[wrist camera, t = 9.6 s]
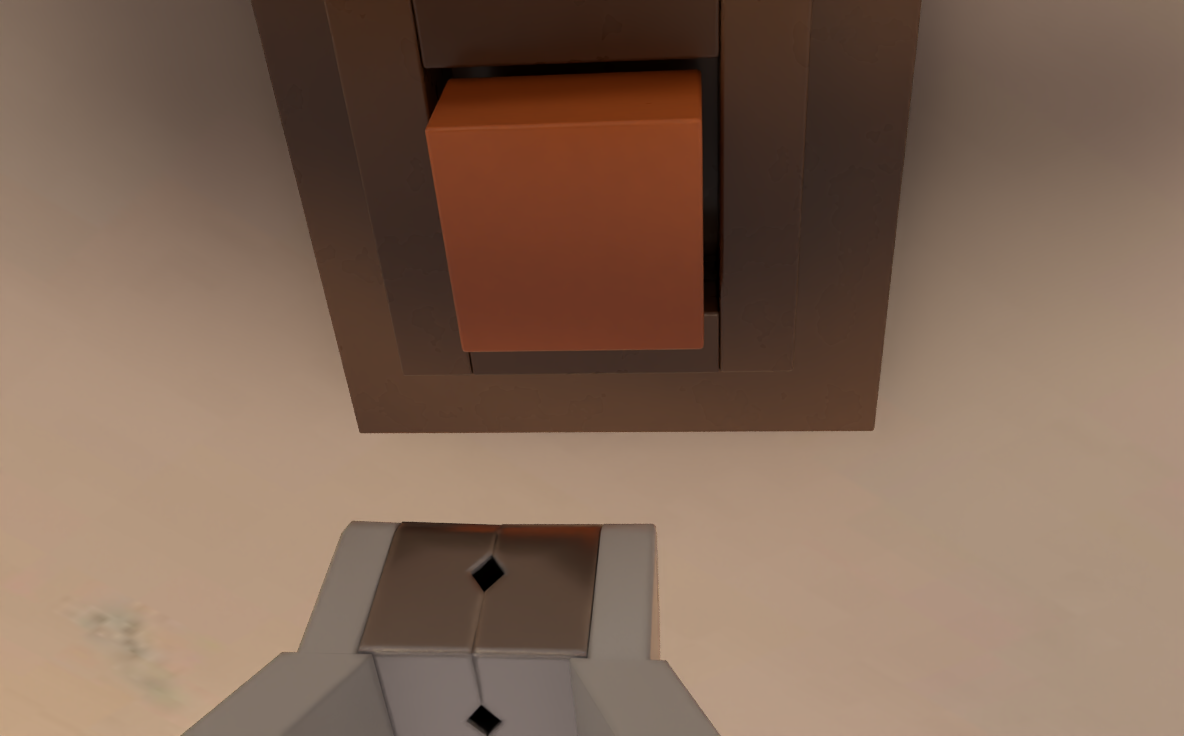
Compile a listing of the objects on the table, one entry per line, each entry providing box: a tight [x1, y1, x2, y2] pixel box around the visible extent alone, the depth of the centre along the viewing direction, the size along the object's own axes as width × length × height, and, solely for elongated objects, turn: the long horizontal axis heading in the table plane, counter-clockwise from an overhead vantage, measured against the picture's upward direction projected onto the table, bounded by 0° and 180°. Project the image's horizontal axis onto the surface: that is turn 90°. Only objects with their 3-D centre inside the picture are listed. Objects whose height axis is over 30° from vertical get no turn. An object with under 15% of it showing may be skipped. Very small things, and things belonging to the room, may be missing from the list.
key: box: [425, 69, 704, 352], centre depth 16 cm, size 4×4×2 cm
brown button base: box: [251, 0, 922, 433], centre depth 17 cm, size 12×10×3 cm
